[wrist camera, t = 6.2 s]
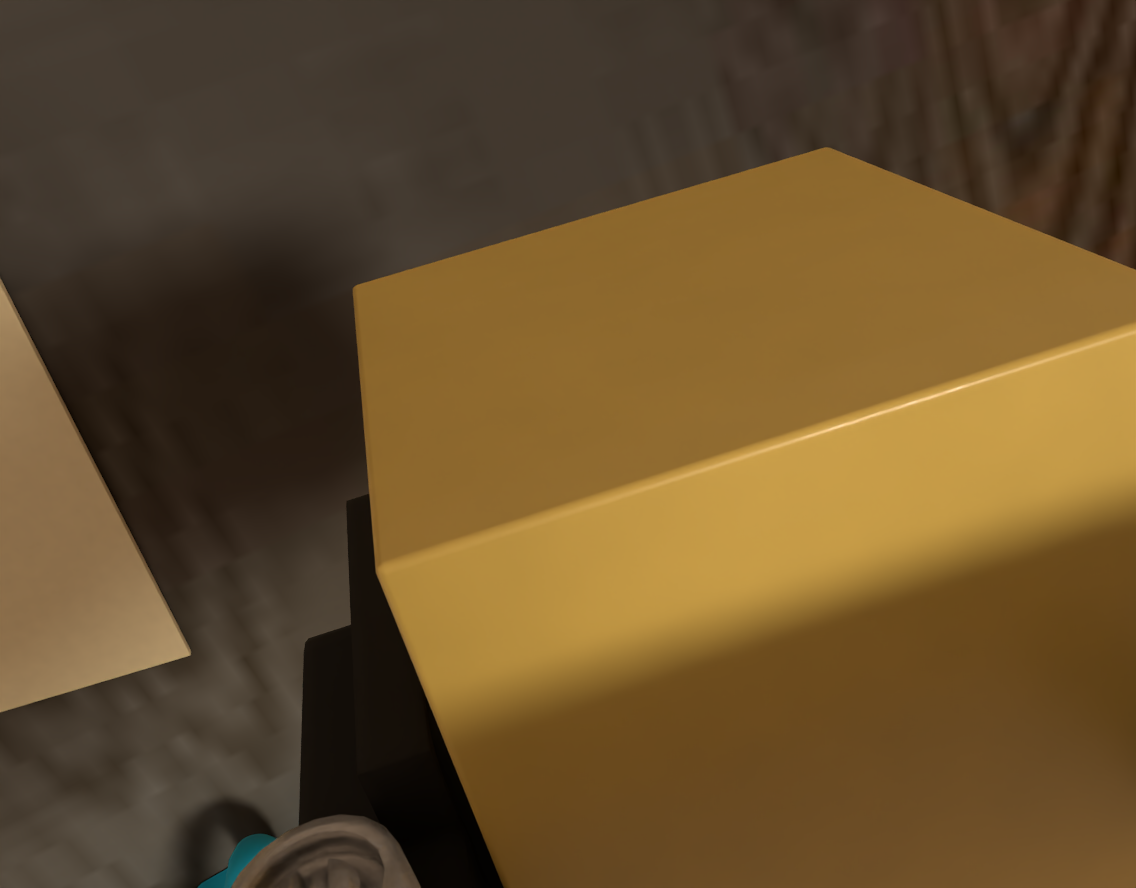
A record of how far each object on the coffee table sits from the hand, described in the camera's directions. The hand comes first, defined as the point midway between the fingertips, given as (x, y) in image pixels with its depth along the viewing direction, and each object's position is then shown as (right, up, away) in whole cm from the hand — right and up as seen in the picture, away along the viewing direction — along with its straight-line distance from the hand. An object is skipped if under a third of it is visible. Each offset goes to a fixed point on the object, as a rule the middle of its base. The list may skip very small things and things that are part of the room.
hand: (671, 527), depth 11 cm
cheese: (0, 0, +1) cm, 1 cm away
